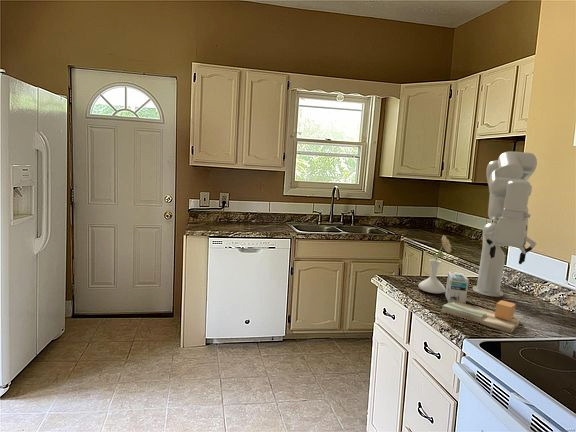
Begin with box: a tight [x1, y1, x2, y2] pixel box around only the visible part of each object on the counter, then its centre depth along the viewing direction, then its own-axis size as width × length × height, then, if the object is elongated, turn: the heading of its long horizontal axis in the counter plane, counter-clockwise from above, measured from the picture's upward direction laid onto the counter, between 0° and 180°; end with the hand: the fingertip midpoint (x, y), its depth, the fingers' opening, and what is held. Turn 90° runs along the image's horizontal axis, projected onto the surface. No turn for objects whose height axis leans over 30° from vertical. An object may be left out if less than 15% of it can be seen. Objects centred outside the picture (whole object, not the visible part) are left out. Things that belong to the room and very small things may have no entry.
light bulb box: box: [444, 270, 470, 304], centre depth 180 cm, size 11×7×11 cm, turn 168°
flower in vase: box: [418, 234, 452, 294], centre depth 189 cm, size 13×11×25 cm
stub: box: [494, 299, 516, 321], centre depth 160 cm, size 6×5×5 cm
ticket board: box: [441, 301, 522, 334], centre depth 162 cm, size 14×24×2 cm, turn 50°
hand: (506, 260), depth 161 cm, fingers open, 9 cm apart
